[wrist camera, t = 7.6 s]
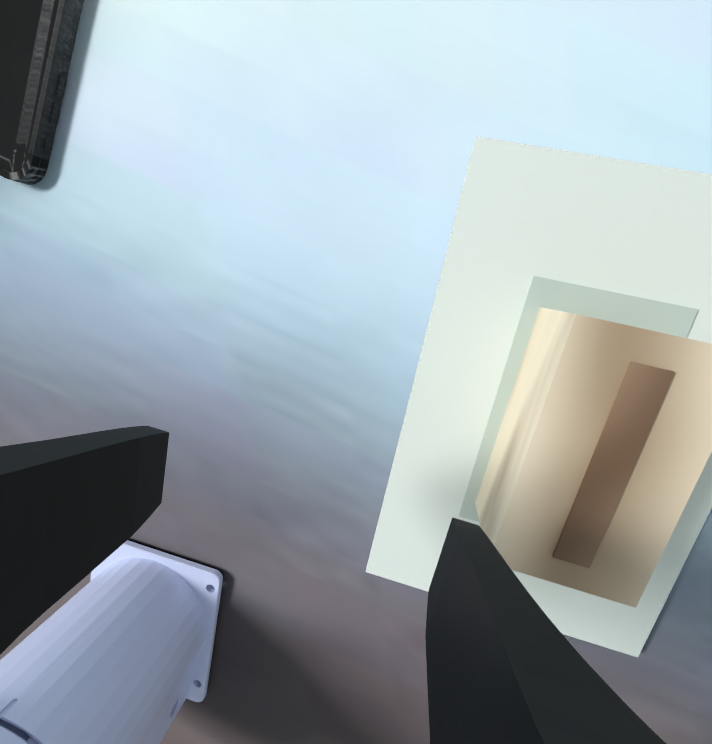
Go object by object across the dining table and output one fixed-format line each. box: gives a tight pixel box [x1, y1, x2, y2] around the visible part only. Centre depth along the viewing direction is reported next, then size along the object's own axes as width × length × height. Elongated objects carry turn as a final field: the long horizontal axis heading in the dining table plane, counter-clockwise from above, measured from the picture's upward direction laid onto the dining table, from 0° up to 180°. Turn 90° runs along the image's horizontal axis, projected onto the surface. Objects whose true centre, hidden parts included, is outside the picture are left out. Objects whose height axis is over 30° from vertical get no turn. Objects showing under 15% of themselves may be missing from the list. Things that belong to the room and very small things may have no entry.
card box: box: [475, 307, 712, 608], centre depth 14 cm, size 5×9×4 cm, turn 168°
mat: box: [366, 136, 712, 657], centre depth 17 cm, size 20×13×1 cm, turn 168°
